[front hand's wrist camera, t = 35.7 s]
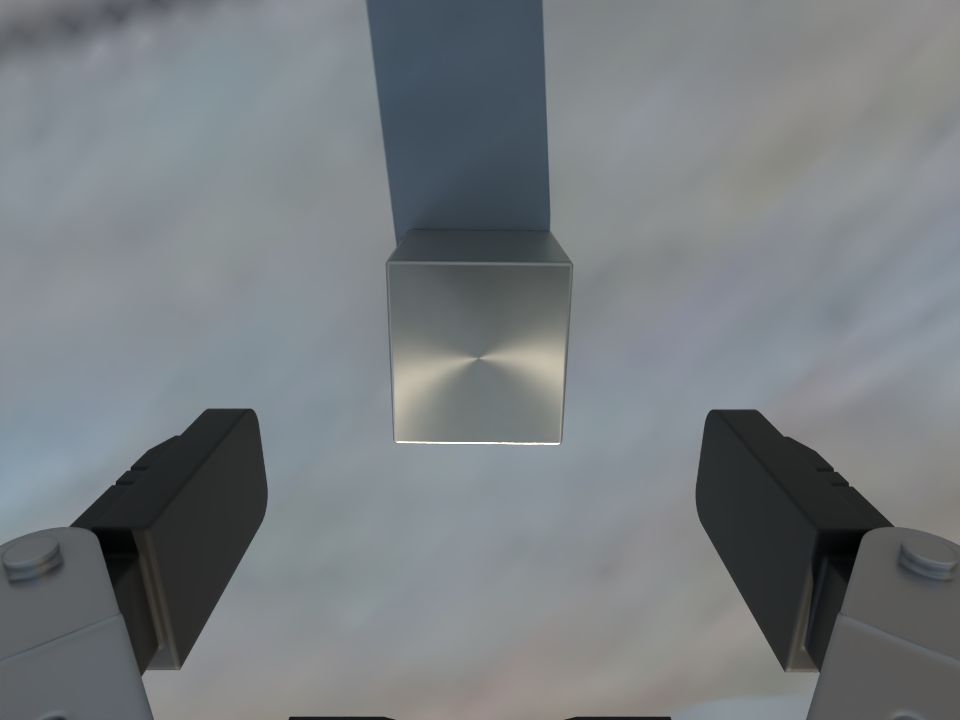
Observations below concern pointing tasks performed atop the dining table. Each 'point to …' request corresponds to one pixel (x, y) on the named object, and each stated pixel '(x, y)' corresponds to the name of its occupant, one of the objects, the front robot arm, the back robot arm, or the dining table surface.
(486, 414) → the block
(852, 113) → the dining table surface
